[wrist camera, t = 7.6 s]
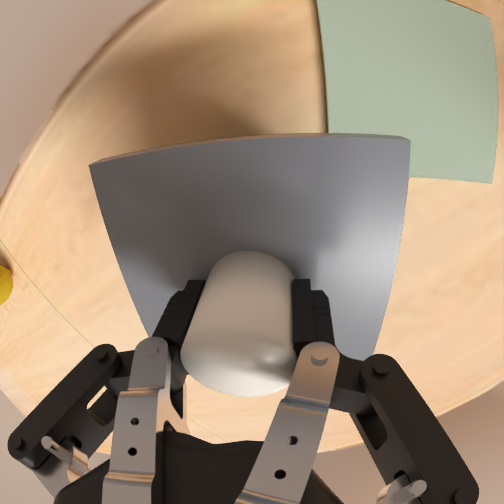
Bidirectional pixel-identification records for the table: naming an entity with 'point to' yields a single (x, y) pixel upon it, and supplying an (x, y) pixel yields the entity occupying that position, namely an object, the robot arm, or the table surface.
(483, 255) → the table surface
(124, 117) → the table surface
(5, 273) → the lemon
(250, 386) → the lid
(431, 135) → the mat
